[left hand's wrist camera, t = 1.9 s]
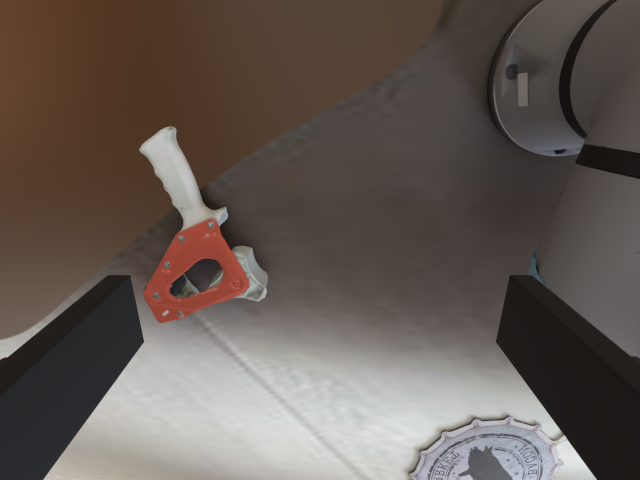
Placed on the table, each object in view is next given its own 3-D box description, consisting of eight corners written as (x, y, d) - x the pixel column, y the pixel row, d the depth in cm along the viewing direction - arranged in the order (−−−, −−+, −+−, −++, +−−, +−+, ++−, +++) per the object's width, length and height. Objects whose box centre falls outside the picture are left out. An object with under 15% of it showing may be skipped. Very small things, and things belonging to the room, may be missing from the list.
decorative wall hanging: (450, 541, 63) (619, 472, 58) (450, 544, 63) (621, 474, 57) (381, 460, 55) (568, 371, 50) (381, 462, 55) (570, 373, 50)
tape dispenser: (164, 117, 38) (111, 275, 44) (140, 115, 33) (83, 294, 39) (313, 188, 41) (246, 331, 46) (312, 196, 36) (237, 356, 41)
